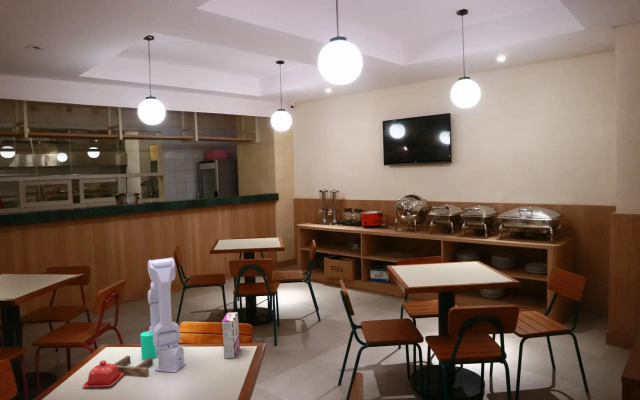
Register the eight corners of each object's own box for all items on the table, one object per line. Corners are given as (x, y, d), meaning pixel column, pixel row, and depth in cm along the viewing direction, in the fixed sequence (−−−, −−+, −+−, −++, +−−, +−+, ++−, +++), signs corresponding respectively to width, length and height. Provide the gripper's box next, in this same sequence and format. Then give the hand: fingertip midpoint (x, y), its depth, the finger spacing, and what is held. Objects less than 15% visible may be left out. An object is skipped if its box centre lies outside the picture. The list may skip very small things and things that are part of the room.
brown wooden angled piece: (161, 365, 189) (161, 358, 189) (146, 376, 179) (145, 369, 178) (119, 362, 193) (118, 355, 193) (101, 373, 183) (101, 365, 183)
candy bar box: (228, 348, 204) (227, 312, 203) (240, 348, 204) (238, 311, 203) (223, 359, 193) (221, 320, 192) (235, 358, 193) (233, 320, 191)
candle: (159, 354, 200) (157, 327, 199) (152, 360, 194) (151, 332, 193) (145, 354, 201) (144, 327, 200) (139, 360, 195) (137, 332, 194)
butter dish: (97, 375, 182) (95, 354, 181) (125, 375, 181) (124, 354, 180) (80, 390, 170) (79, 367, 170) (111, 389, 170) (110, 367, 169)
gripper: (158, 311, 212) (160, 340, 213) (139, 322, 198) (141, 353, 199) (172, 312, 210) (174, 341, 211) (154, 322, 196) (156, 354, 197)
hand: (159, 347), depth 205 cm, fingers closed
